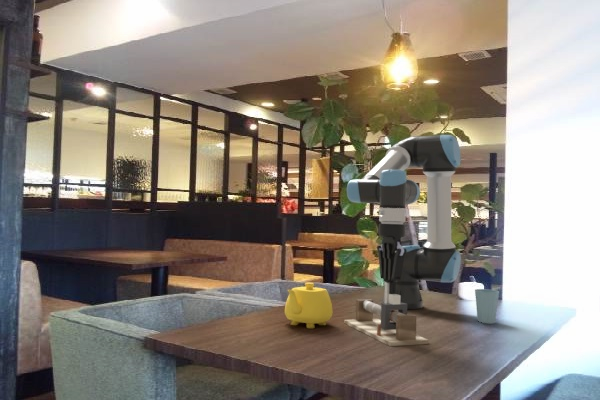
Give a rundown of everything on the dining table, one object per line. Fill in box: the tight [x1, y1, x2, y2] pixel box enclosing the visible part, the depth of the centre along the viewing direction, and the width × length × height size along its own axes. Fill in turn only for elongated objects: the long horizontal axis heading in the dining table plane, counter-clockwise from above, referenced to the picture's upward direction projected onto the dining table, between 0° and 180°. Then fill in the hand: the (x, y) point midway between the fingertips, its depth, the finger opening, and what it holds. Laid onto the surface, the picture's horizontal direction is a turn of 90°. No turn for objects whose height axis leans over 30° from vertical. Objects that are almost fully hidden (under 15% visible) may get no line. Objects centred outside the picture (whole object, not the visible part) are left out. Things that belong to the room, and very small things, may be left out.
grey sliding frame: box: [380, 294, 408, 330], centre depth 148 cm, size 2×7×10 cm, turn 109°
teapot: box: [284, 282, 334, 329], centre depth 161 cm, size 14×20×13 cm
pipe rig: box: [343, 298, 430, 347], centre depth 154 cm, size 29×12×8 cm, turn 20°
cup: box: [474, 288, 500, 324], centre depth 175 cm, size 8×8×10 cm
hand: (389, 304), depth 151 cm, fingers closed
